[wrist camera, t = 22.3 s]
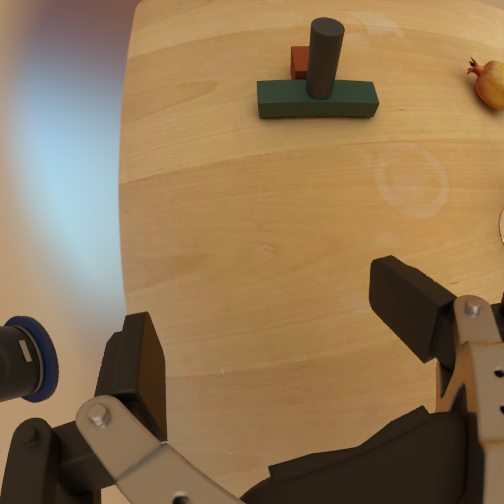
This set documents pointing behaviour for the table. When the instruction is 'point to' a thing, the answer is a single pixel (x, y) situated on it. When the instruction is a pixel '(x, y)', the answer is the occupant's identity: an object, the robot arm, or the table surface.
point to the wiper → (319, 83)
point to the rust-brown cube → (299, 62)
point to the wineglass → (502, 225)
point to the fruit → (490, 83)
